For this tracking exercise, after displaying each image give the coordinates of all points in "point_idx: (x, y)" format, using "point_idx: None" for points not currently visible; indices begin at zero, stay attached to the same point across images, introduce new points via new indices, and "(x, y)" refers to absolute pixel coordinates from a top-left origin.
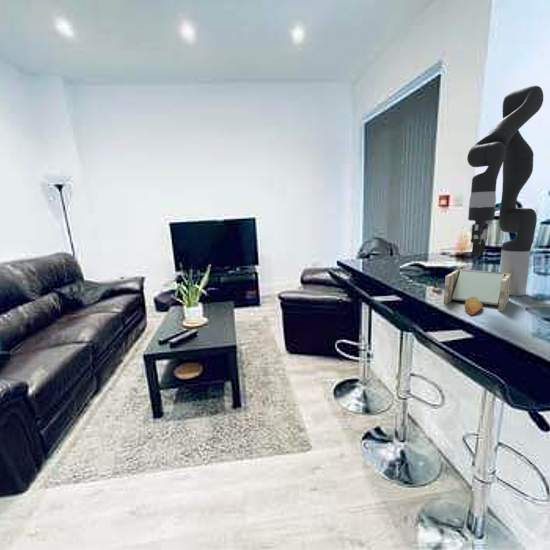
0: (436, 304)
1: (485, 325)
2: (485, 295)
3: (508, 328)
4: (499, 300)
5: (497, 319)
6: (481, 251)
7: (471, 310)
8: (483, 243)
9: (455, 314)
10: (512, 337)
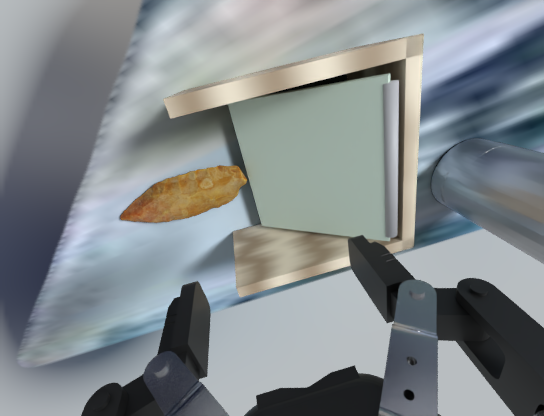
0: (149, 77)
1: (80, 267)
2: (275, 197)
3: (109, 296)
4: (234, 248)
5: (155, 260)
6: (353, 263)
7: (136, 213)
8: (381, 312)
9: (95, 183)
10: (58, 321)
